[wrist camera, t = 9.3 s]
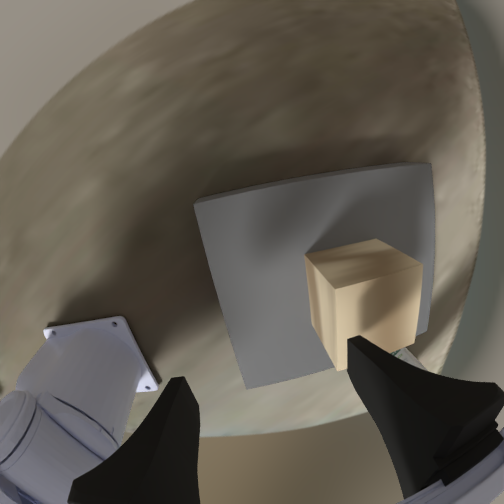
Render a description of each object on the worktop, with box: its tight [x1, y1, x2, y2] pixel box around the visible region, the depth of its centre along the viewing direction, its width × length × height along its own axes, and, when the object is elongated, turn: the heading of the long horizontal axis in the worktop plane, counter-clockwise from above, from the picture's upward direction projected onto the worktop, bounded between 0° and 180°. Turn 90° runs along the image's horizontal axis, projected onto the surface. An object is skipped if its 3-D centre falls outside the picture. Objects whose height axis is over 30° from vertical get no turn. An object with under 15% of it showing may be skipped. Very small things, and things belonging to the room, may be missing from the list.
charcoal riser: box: [193, 162, 435, 389], centre depth 19 cm, size 16×14×3 cm
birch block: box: [304, 239, 423, 371], centre depth 15 cm, size 5×5×5 cm
